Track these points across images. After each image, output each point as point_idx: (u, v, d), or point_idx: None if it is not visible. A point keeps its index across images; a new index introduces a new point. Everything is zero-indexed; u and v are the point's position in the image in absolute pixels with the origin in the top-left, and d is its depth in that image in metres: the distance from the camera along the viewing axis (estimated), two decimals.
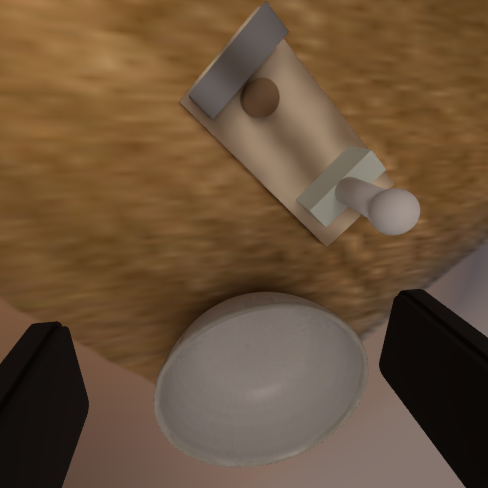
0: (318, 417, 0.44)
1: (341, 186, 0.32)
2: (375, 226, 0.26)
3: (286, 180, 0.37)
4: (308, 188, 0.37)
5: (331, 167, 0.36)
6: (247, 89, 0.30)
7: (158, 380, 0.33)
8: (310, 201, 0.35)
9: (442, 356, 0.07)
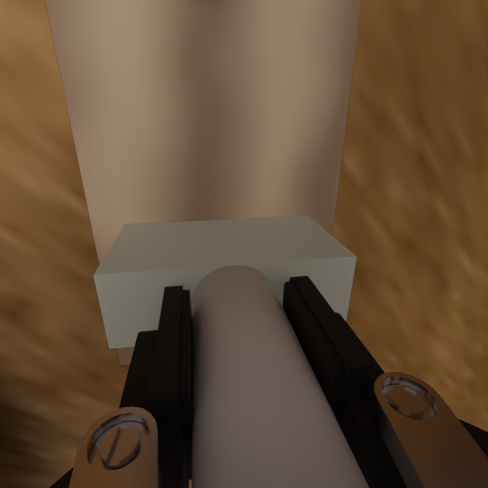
0: None
1: (223, 282, 0.09)
2: None
3: (134, 166, 0.13)
4: (168, 224, 0.14)
5: (246, 224, 0.14)
6: None
7: None
8: (131, 254, 0.11)
9: (304, 334, 0.08)
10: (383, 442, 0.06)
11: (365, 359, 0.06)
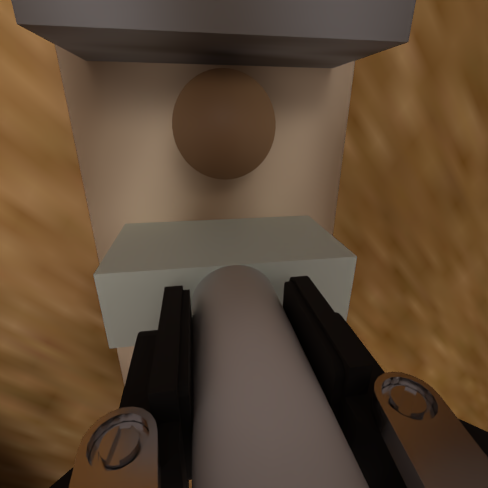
0: None
1: (223, 282, 0.09)
2: None
3: None
4: (168, 224, 0.14)
5: (246, 224, 0.14)
6: (208, 74, 0.10)
7: None
8: (131, 254, 0.11)
9: (304, 334, 0.08)
10: (383, 442, 0.06)
11: (365, 360, 0.06)
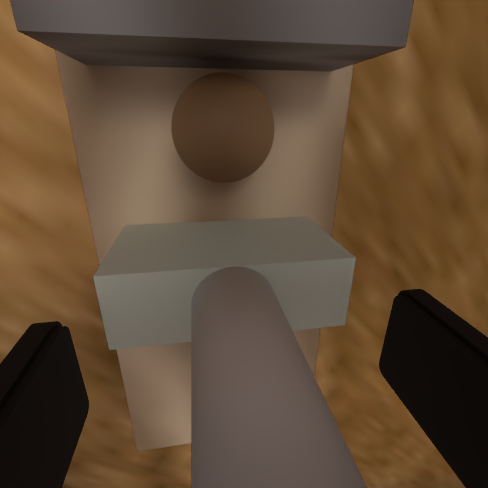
0: None
1: (222, 284, 0.09)
2: None
3: None
4: (168, 226, 0.14)
5: (245, 225, 0.14)
6: (207, 79, 0.10)
7: None
8: (130, 256, 0.11)
9: (442, 356, 0.07)
10: None
11: None
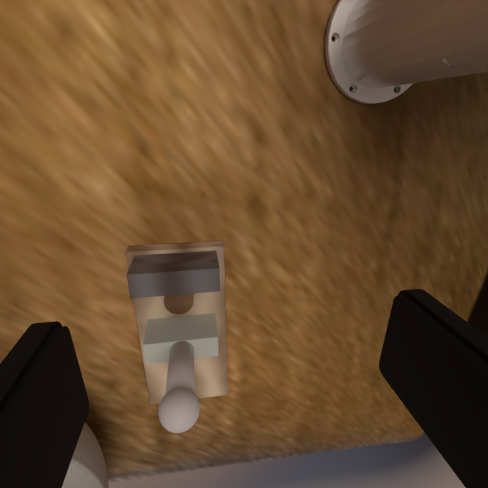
0: None
1: (176, 347, 0.36)
2: None
3: None
4: (163, 319, 0.40)
5: (190, 319, 0.41)
6: None
7: None
8: (151, 336, 0.37)
9: (442, 356, 0.07)
10: None
11: None
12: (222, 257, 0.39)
